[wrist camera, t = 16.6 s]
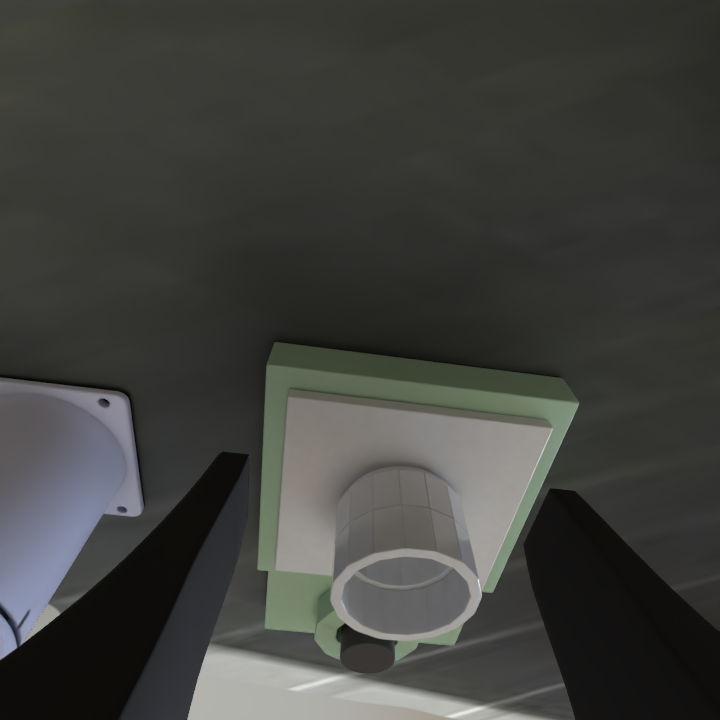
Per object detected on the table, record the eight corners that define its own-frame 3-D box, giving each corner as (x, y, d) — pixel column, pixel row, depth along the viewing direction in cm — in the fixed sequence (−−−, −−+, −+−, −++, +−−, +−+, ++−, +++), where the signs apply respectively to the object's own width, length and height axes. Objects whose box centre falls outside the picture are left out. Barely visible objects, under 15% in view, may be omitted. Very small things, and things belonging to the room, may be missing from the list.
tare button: (338, 642, 27) (336, 671, 26) (344, 612, 26) (343, 641, 24) (389, 647, 27) (390, 675, 26) (398, 617, 26) (399, 646, 25)
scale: (264, 539, 27) (254, 580, 24) (274, 340, 20) (263, 372, 18) (484, 561, 27) (495, 603, 25) (562, 377, 21) (586, 411, 19)
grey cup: (330, 541, 23) (323, 634, 19) (345, 454, 20) (340, 541, 16) (444, 553, 23) (460, 646, 19) (474, 468, 20) (499, 558, 16)
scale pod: (268, 607, 30) (259, 656, 27) (272, 546, 27) (262, 594, 24) (450, 624, 31) (458, 673, 28) (474, 566, 28) (485, 615, 25)
